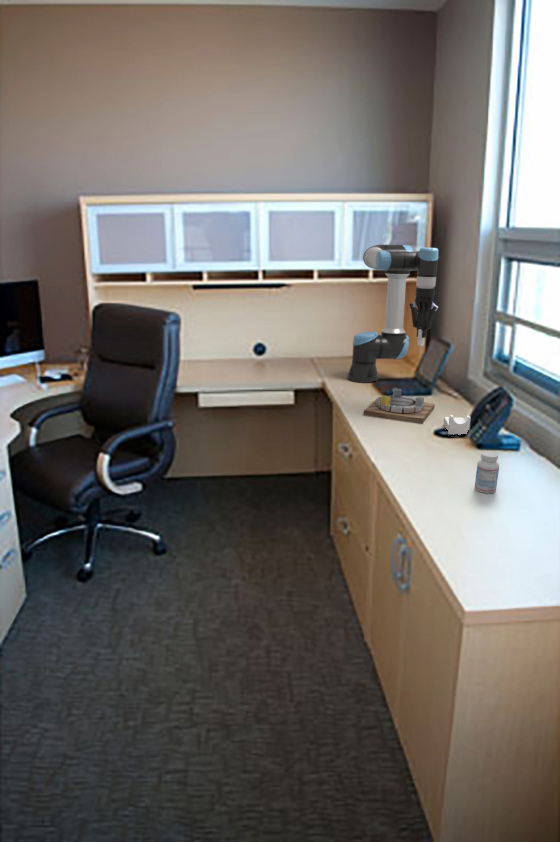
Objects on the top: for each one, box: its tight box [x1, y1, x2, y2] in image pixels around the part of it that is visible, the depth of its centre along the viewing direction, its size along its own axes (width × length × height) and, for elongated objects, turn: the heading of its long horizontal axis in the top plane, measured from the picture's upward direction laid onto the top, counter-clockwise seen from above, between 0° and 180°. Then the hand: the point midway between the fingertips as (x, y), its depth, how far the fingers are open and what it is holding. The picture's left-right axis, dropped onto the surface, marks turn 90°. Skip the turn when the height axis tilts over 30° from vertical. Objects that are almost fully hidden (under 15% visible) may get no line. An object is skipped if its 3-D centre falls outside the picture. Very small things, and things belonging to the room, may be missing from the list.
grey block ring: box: [376, 388, 425, 413], centre depth 260 cm, size 19×19×5 cm
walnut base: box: [363, 396, 436, 424], centre depth 261 cm, size 24×24×4 cm
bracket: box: [443, 414, 471, 436], centre depth 238 cm, size 13×7×8 cm, turn 175°
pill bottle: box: [474, 450, 500, 494], centre depth 184 cm, size 6×6×11 cm
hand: (420, 345), depth 262 cm, fingers closed
